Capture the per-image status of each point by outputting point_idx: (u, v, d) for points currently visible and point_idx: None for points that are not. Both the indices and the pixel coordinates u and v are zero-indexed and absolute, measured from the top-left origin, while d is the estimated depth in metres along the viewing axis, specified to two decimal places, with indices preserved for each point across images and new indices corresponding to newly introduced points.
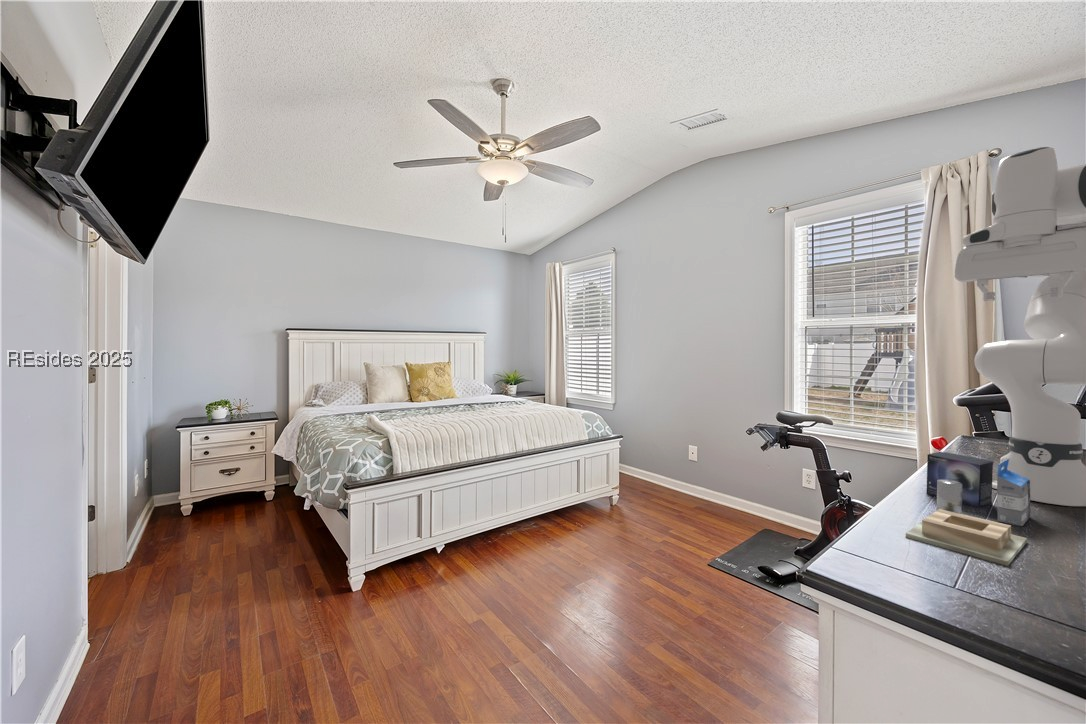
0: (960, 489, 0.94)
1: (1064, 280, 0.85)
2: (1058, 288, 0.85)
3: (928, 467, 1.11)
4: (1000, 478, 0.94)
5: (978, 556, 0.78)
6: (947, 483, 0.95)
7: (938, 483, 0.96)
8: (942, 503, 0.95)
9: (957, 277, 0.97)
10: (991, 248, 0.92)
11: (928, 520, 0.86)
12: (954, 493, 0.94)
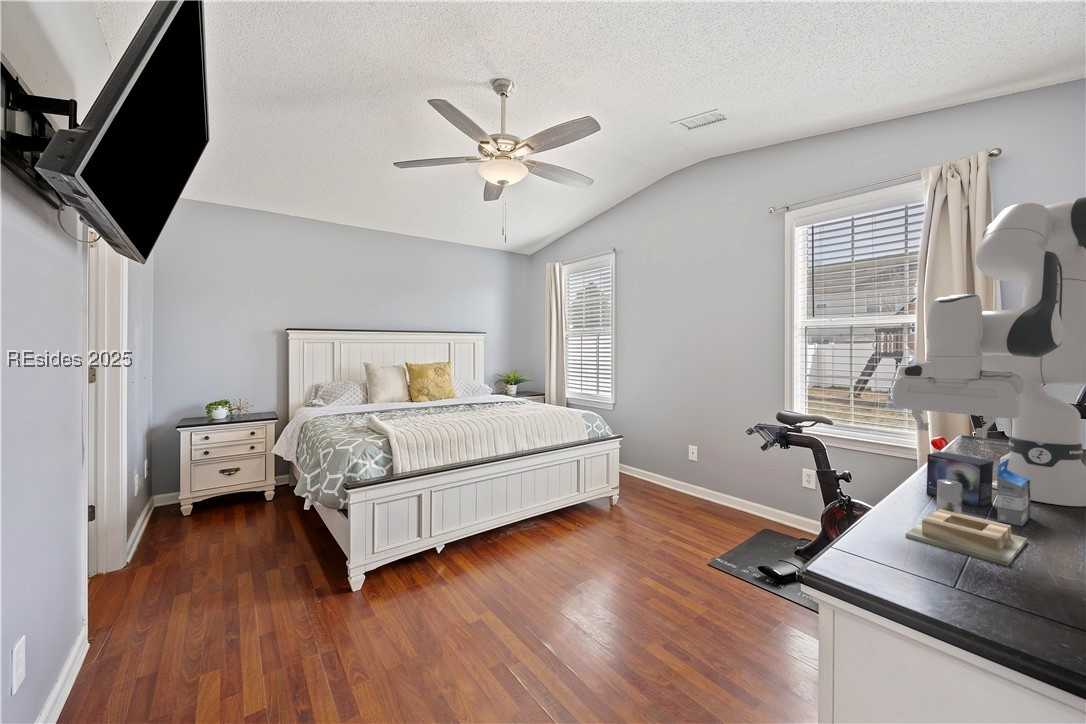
0: (960, 489, 0.94)
1: (987, 424, 0.90)
2: (982, 431, 0.90)
3: (928, 467, 1.11)
4: (1000, 478, 0.94)
5: (978, 556, 0.78)
6: (947, 483, 0.95)
7: (938, 483, 0.96)
8: (942, 503, 0.95)
9: (894, 404, 1.02)
10: (924, 383, 0.97)
11: (928, 520, 0.86)
12: (954, 493, 0.94)
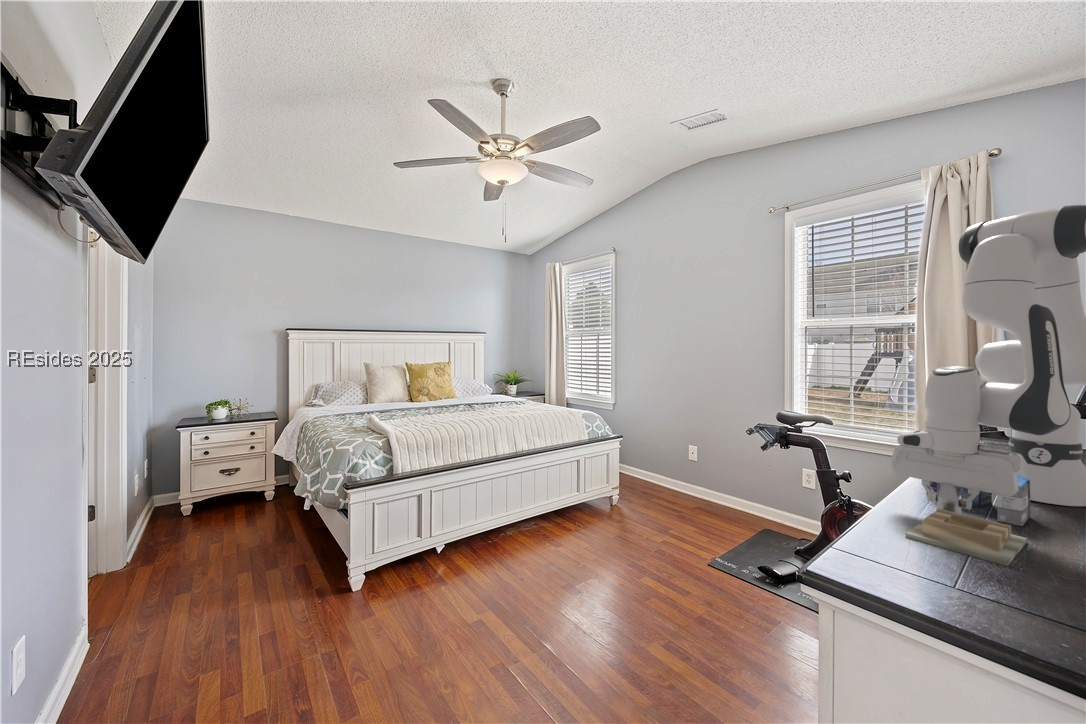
0: (960, 489, 0.94)
1: (971, 496, 0.92)
2: (966, 502, 0.93)
3: None
4: None
5: (978, 556, 0.78)
6: None
7: (938, 483, 0.96)
8: (942, 503, 0.95)
9: (893, 470, 1.02)
10: (922, 453, 0.97)
11: (928, 520, 0.86)
12: (954, 493, 0.94)
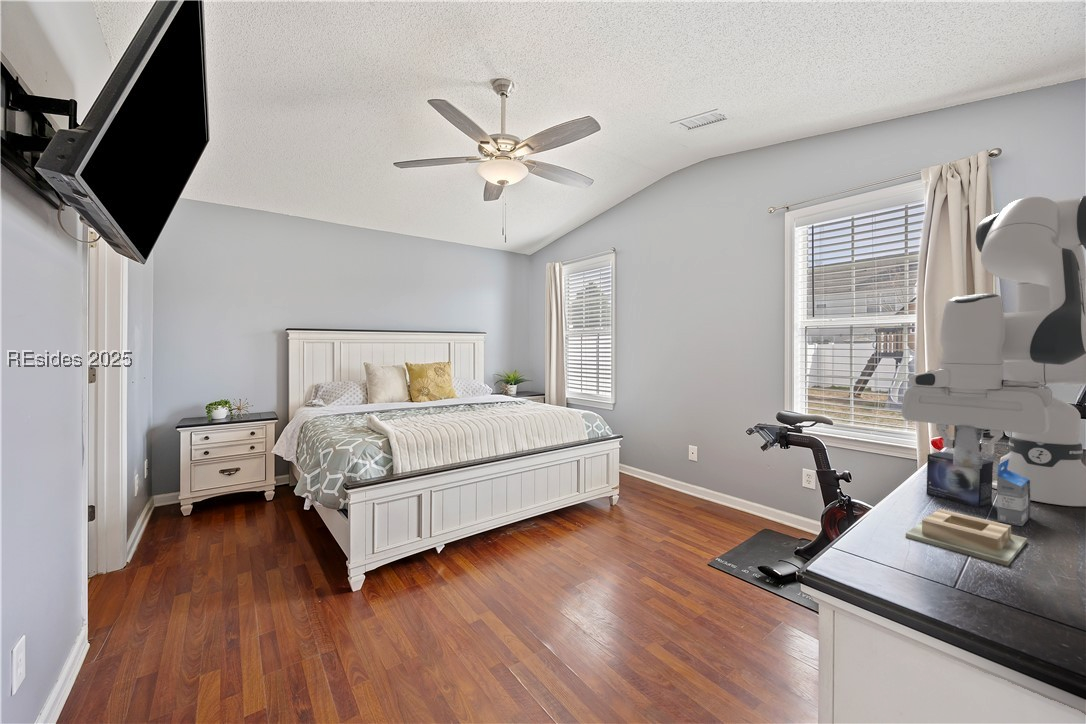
0: (981, 431, 0.83)
1: (994, 439, 0.81)
2: (988, 446, 0.82)
3: (928, 467, 1.11)
4: (1000, 478, 0.94)
5: (978, 556, 0.78)
6: None
7: (955, 426, 0.85)
8: (960, 449, 0.84)
9: (904, 416, 0.91)
10: (937, 393, 0.86)
11: (928, 520, 0.86)
12: (974, 436, 0.83)
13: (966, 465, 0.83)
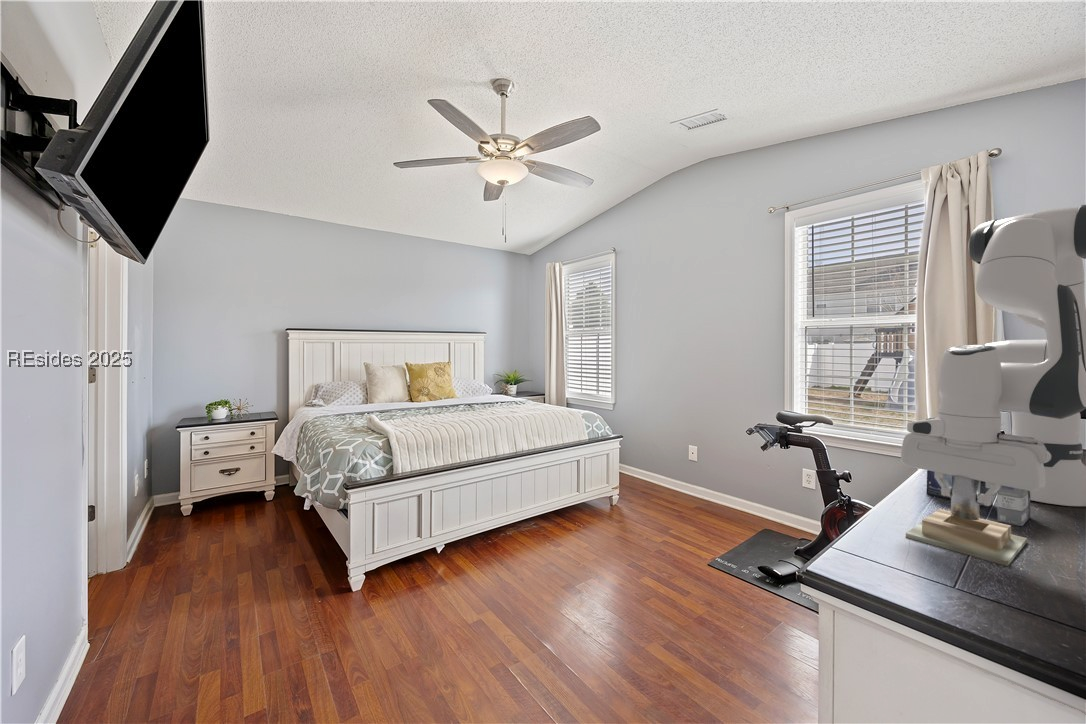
0: (977, 483, 0.83)
1: (989, 491, 0.81)
2: (984, 498, 0.82)
3: None
4: None
5: (978, 556, 0.78)
6: (962, 476, 0.84)
7: (952, 476, 0.86)
8: (956, 498, 0.85)
9: (903, 461, 0.93)
10: (934, 442, 0.88)
11: (928, 520, 0.86)
12: (969, 487, 0.83)
13: (961, 515, 0.84)
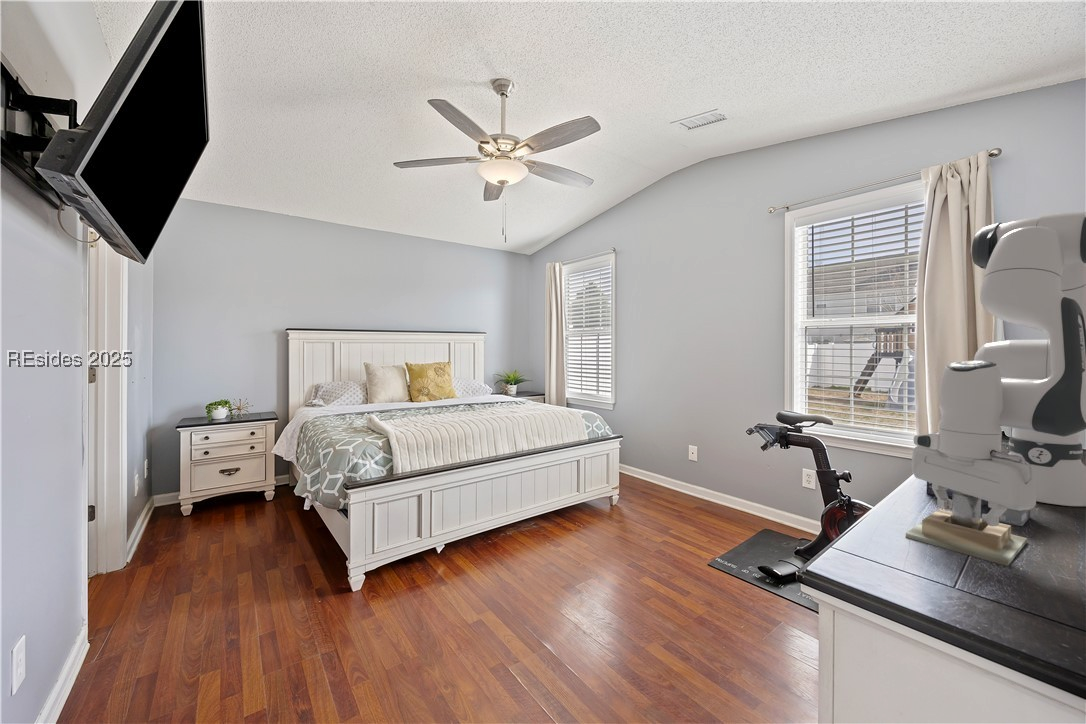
0: (974, 503, 0.83)
1: (991, 511, 0.80)
2: (987, 517, 0.81)
3: None
4: None
5: (978, 556, 0.78)
6: (960, 494, 0.85)
7: None
8: (953, 516, 0.86)
9: (913, 473, 0.94)
10: (935, 455, 0.89)
11: (928, 520, 0.86)
12: (964, 506, 0.84)
13: None
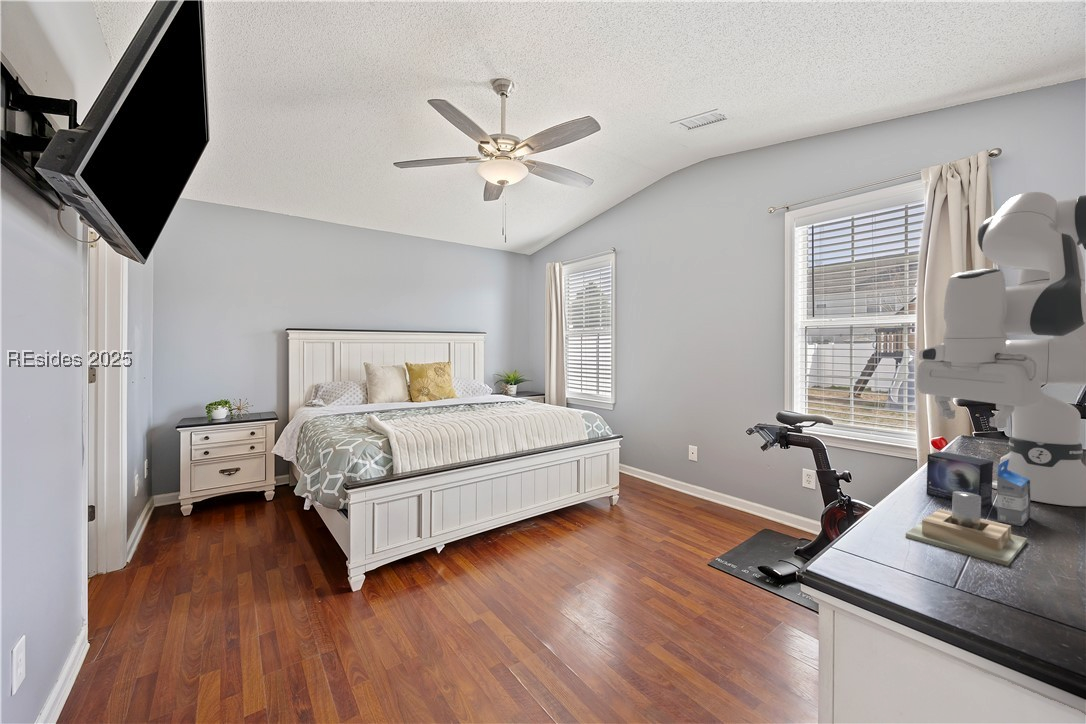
0: (974, 503, 0.83)
1: (999, 413, 0.81)
2: (995, 419, 0.82)
3: (928, 467, 1.11)
4: (1000, 478, 0.94)
5: (978, 556, 0.78)
6: (960, 495, 0.85)
7: None
8: (953, 516, 0.86)
9: (919, 389, 0.96)
10: (940, 367, 0.90)
11: (928, 520, 0.86)
12: (964, 506, 0.84)
13: None
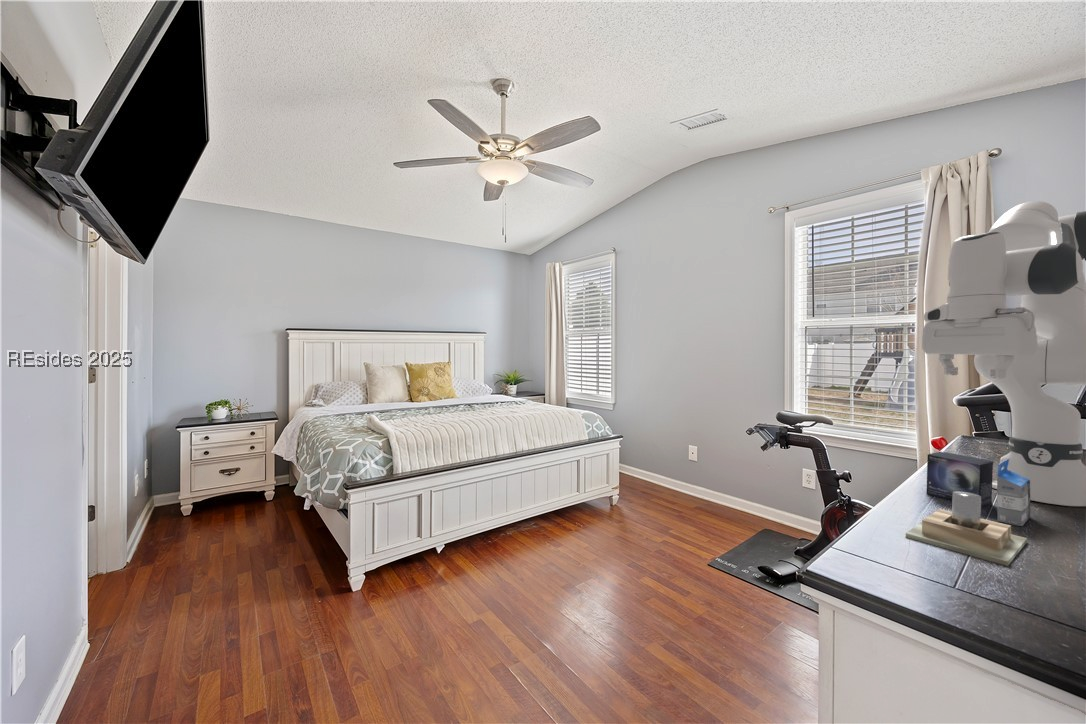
0: (974, 503, 0.83)
1: (999, 363, 0.87)
2: (995, 370, 0.87)
3: (928, 467, 1.11)
4: (1000, 478, 0.94)
5: (978, 556, 0.78)
6: (960, 495, 0.85)
7: None
8: (953, 516, 0.86)
9: None
10: (944, 326, 0.96)
11: (928, 520, 0.86)
12: (964, 506, 0.84)
13: None
